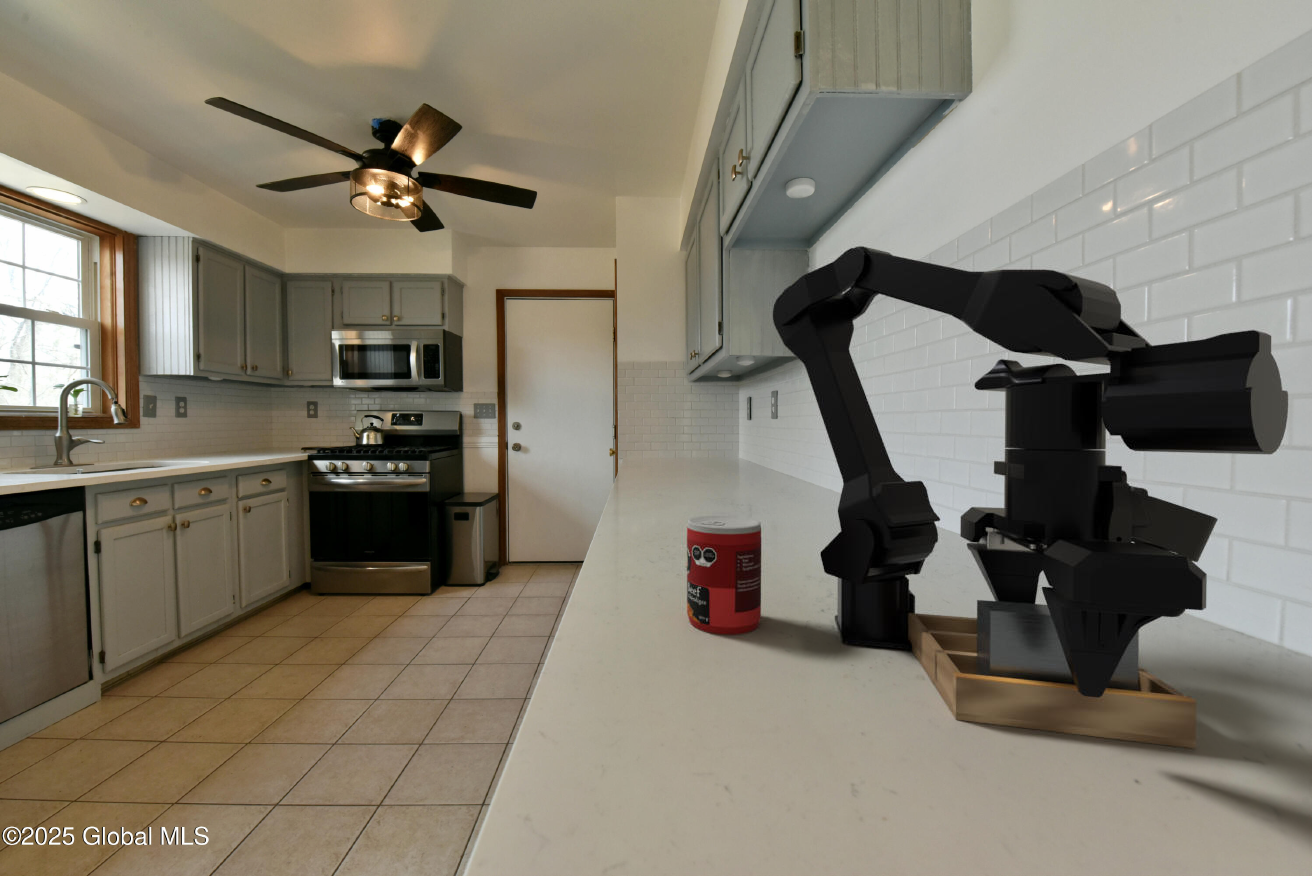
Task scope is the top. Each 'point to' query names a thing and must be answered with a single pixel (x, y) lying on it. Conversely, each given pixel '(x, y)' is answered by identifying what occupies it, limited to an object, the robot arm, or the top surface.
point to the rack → (1044, 693)
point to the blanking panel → (1034, 646)
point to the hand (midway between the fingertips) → (1050, 663)
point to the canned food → (724, 574)
